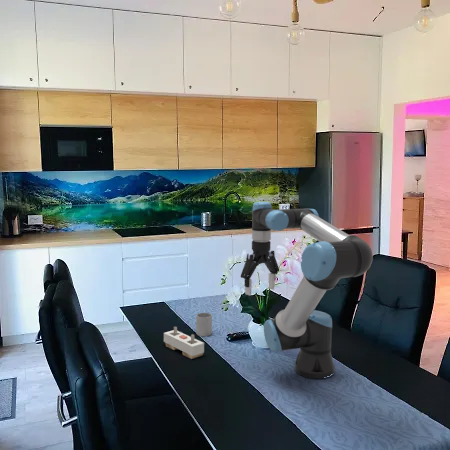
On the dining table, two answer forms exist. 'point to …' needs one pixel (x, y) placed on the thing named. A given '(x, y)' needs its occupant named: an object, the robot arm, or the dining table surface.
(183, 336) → the power strip
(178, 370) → the dining table surface
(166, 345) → the wooden peg stand
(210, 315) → the cup
